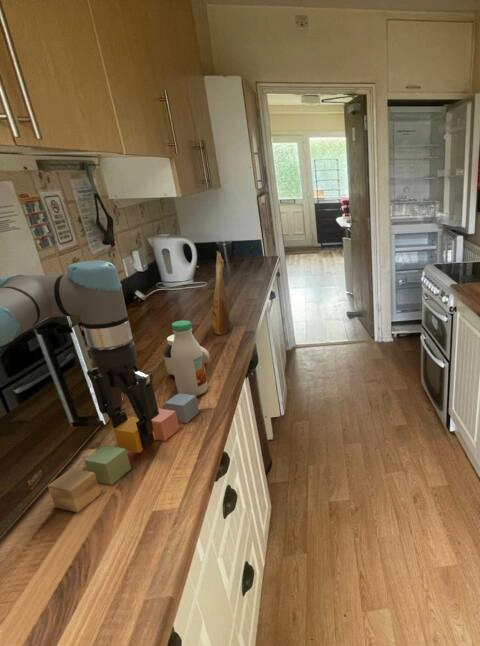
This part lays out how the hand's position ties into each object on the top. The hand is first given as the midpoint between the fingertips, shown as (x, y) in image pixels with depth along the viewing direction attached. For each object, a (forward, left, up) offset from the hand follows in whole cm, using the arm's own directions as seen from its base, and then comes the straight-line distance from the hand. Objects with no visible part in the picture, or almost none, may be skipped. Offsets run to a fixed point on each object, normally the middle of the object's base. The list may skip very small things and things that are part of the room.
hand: (137, 443), depth 92 cm
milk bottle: (-6, +27, -3) cm, 28 cm away
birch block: (0, -15, -2) cm, 15 cm away
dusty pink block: (0, +7, -2) cm, 8 cm away
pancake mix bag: (-26, +73, -3) cm, 78 cm away
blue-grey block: (0, +15, -2) cm, 15 cm away
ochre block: (0, 0, 0) cm, 0 cm away
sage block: (0, -8, -2) cm, 8 cm away
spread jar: (-15, +38, -3) cm, 41 cm away
